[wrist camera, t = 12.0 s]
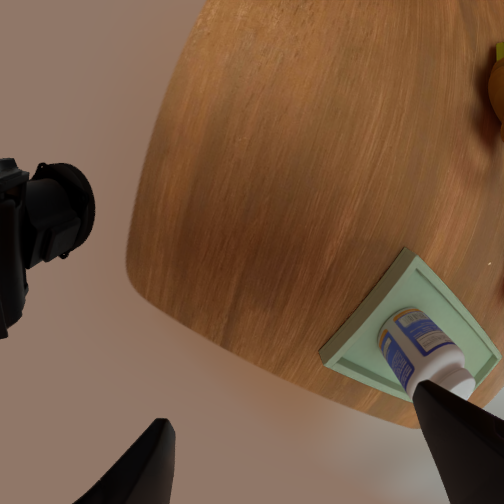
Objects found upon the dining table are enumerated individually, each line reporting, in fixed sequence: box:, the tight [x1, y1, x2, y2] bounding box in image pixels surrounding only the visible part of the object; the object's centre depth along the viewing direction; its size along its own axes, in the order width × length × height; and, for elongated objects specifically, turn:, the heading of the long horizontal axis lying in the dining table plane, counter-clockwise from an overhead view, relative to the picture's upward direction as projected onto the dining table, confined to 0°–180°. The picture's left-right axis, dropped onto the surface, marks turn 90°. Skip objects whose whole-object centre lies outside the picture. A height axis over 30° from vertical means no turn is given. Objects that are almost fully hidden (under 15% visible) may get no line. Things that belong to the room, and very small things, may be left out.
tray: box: [319, 247, 502, 403], centre depth 23 cm, size 28×12×2 cm, turn 56°
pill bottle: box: [378, 307, 476, 400], centre depth 17 cm, size 5×5×10 cm
